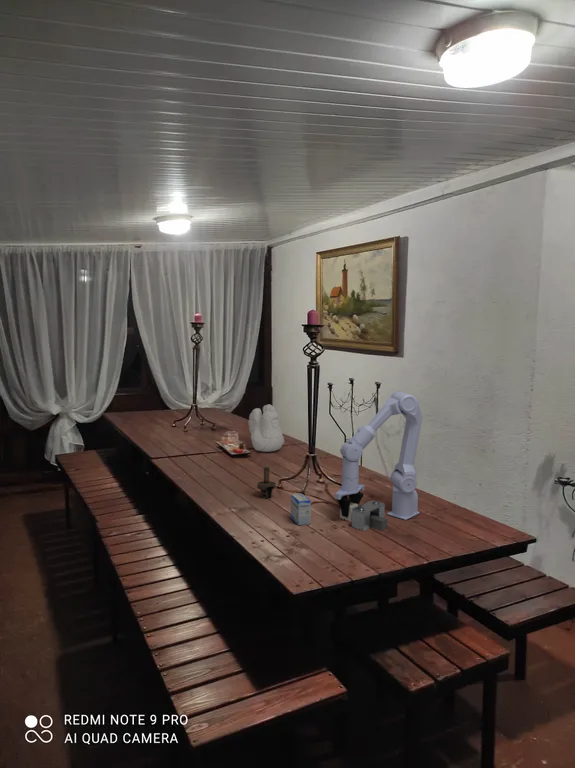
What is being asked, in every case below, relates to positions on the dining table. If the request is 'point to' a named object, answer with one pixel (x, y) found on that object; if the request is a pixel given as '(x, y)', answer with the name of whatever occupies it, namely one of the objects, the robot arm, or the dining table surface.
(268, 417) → the white lumpy sculpture
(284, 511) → the dining table surface
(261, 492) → the industrial component
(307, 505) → the medicine box
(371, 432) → the robot arm
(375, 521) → the plug
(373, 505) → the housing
